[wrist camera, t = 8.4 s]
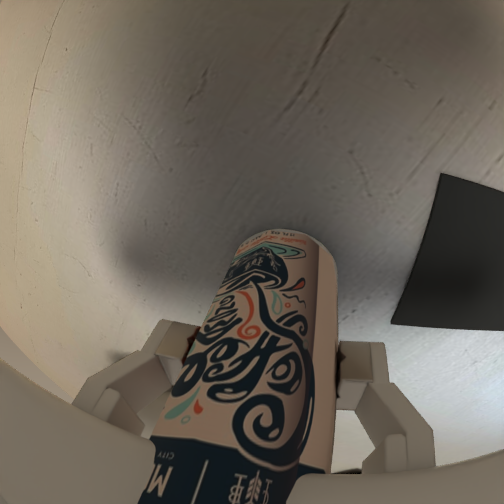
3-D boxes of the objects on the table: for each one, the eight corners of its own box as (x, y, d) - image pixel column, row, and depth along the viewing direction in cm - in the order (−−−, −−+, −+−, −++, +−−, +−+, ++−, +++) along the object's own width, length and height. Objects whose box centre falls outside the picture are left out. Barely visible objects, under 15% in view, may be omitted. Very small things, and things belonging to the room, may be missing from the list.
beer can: (304, 203, 11) (215, 595, 1) (354, 287, 13) (343, 574, 3) (214, 252, 13) (75, 509, 4) (269, 319, 15) (204, 551, 5)
